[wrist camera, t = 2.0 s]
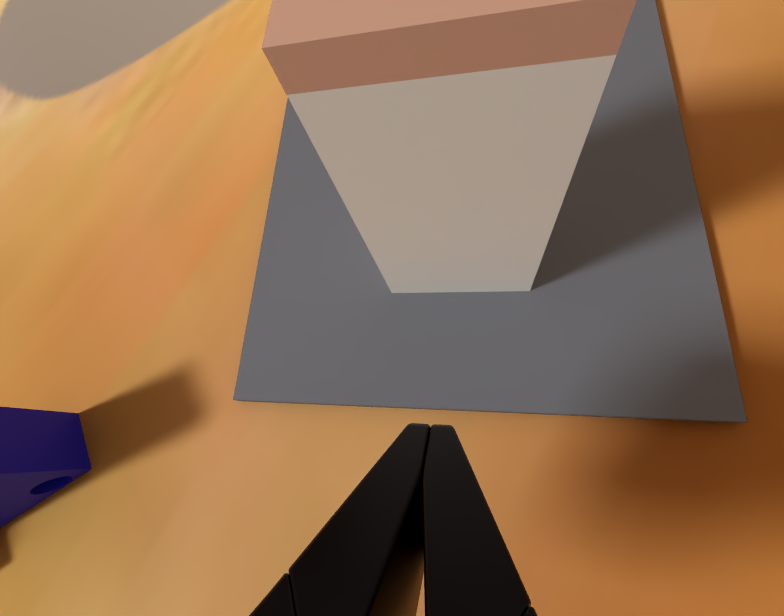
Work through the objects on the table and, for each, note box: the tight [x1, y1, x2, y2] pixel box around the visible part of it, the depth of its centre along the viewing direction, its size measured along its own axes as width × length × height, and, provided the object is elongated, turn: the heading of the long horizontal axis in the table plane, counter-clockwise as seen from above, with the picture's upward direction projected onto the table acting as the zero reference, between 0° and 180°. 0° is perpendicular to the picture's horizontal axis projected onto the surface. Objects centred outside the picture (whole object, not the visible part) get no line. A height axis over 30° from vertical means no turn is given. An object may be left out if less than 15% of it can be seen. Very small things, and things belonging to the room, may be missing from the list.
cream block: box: [262, 0, 637, 293], centre depth 13 cm, size 4×6×12 cm, turn 87°
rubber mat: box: [233, 0, 747, 423], centre depth 20 cm, size 24×20×1 cm
